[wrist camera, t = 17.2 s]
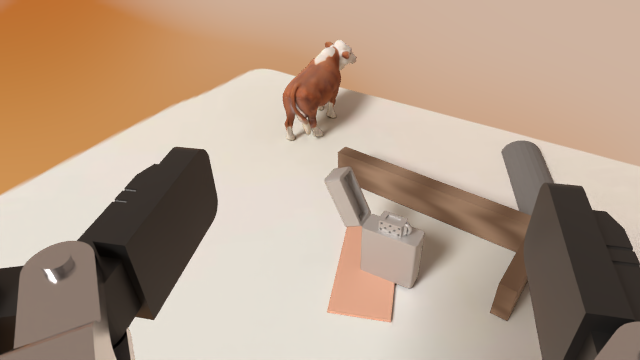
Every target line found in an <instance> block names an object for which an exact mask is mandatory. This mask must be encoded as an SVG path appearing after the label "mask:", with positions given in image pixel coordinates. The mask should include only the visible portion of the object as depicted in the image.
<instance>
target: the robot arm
mask: <svg viewBox="0 0 640 360" xmlns="http://www.w3.org/2000/svg"><path fill="white" fill-rule="evenodd" d="M217 205H218V199H217V193H216V188H215V183H214V179H213V174H212V169H211V164H210V159H209V156H208V153H207V152H206V151H205V150H204V149H194V148H183V147H174V148H173V149H172V150H171V151H170V152H169V153H168V154H167V155H166V157H165V158H164V159H163V160H162V161H161V162H160V164H154V165H152V166H150V167H149V168H147V169H145V170H144V171H142V172H141V173H139V174H137V175H136V176H135V177H134V178H133V179H132V181H131V182H130V183H129V184H128V185H127V186H126V187H125V190H124V191H122V192H121V193H120V194H119V195H118V196H117V197H116V198H115V202H112V203H111V204H110V205H109V206H108V207H107V208H106V209H105V210H104V212H103V213H102V214H101V215H100V216H99V217H98V218H97V219H96V220H95V221H94V223H93V224H92V225H91V226H90V227H89V228H88V229H87V230H86V231H85V233H84V234H83V235H82V236H81V237H80V238H79V239H78V240H77V241H66V242H61V243H57V244H54V245H51V246H49V247H47V248H45V249H43V250H41V251H40V252H38V253H37V254H35V255H34V256H33V257H32V258H30V259H29V260H28V261H27V263H26V264H25V265H24V266H18V267H9V268H1V269H0V360H135V356H134V350H133V343H132V337H131V333H130V330H129V328H128V327H129V325H130V324H131V322H132V321H133V319H134V318H135V317H139V318H145V319H151V320H154V319H155V317H156V316H157V314H158V312H159V311H160V309H161V307H162V306H163V304H164V302H165V301H166V299H167V297H168V296H169V294H170V292H171V291H172V289H173V287H174V286H175V284H176V282H177V281H178V279H179V277H180V276H181V274H182V272H183V271H184V269H185V267H186V266H187V264H188V262H189V261H190V259H191V257H192V256H193V254H194V252H195V251H196V249H197V247H198V246H199V244H200V242H201V241H202V239H203V237H204V236H205V234H206V232H207V231H208V229H209V227H210V226H211V224H212V222H213V220H214V218H215V216H216V212H217ZM632 250H633V247H632V245H631V243H630V241H629V238H628V236H627V234H626V232H625V230H624V228H623V227H622V226H621V225H620V224H619V223H617V222H616V221H615V220H614V219H613V218H612V217H611V216H610V215H609V214H608V213H607V212H605V211H595V210H592V208H591V206H590V203H589V201H588V198H587V196H586V193H585V191H584V189H583V187H582V186H575V185H565V184H554V183H543V184H542V186H541V188H540V190H539V193H538V196H537V200H536V203H535V206H534V209H533V212H532V215H531V219H530V222H529V225H528V228H527V231H526V235H525V240H524V263H525V268H526V273H527V279H528V284H529V290H530V295H531V300H532V306H533V311H534V316H535V322H536V327H537V333H538V338H539V343H540V349H541V354H542V360H640V263H639V260H638V258H637V256H636V254H635V252H633V251H632Z"/></svg>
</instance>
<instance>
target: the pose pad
mask: <svg viewBox="0 0 640 360" xmlns="http://www.w3.org/2000/svg"><path fill="white" fill-rule="evenodd" d="M361 240H362V226H355V227H347V230H346V234H345V238H344V242H343V246H342V251H341V255H340V259H339V263H338V268H337V272H336V276H335V280H334V284H333V289H332V293H331V297H330V301H329V306H328V310H327V312H329V313H335V314H341V315H348V316H354V317H360V318H367V319H373V320H380V321H386V322H391V313H392V303H393V293H394V284H395V283H393V282H391V281H388V280H386V279H383V278H381V277H378V276H375V275H373V274H370V273H368V272H365V271H363V270H361V268H360V264H361Z"/></svg>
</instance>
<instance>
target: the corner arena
mask: <svg viewBox="0 0 640 360" xmlns="http://www.w3.org/2000/svg"><path fill="white" fill-rule="evenodd" d="M343 167H351V168H352V170H353V172H354V175H355V177H356V179H357V182H358V184H359V186H360V187H361V188H363V189H365V190H368V191H370V192H373V193H375V194H377V195H380V196H382V197H385V198H387V199H389V200H392V201H394V202H397V203H399V204H401V205H404V206H406V207H409V208H411V209H413V210H416V211H418V212H421V213H423V214H425V215H428V216H430V217H433V218H435V219H437V220H440V221H442V222H445V223H447V224H450V225H452V226H454V227H457V228H459V229H462V230H464V231H466V232H469V233H471V234H474V235H476V236H478V237H481V238H483V239H486V240H488V241H490V242H493V243H495V244H498V245H500V246H502V247H505V248H507V249H510V250H512V251H514V252H516V254H515V256H514V258H513V260H512V261H511V263H510V265H509V267H508V269H507V270H506V272H505V274H504V276H503V278H502V279H501V281H500V283H499V286H498V289H497V292H496V295H495V298H494V302H493V305H492V308H491V311H490V313H492V314H494V315H496V316H498V317H500V318H502V319H504V320H506V321H508V319H509V317H510V315H511V313H512V311H513V309H514V307H515V305H516V303H517V301H518V299H519V297H520V295H521V293H522V291H523V289H524V287H525V285H526V283H527V281H528V279H527V273H526V268H525V263H524V240H525V235H526V231H527V228H528V225H529V222H530V219H531V215H528V214H525V213H523V212H520V211H517V210H514V209H512V208H509V207H506V206H504V205H501V204H498V203H496V202H493V201H490V200H488V199H485V198H482V197H479V196H477V195H474V194H471V193H469V192H466V191H463V190H461V189H458V188H455V187H453V186H450V185H447V184H444V183H442V182H439V181H436V180H434V179H431V178H428V177H426V176H423V175H420V174H418V173H415V172H412V171H409V170H407V169H404V168H401V167H399V166H396V165H393V164H391V163H388V162H385V161H383V160H380V159H377V158H374V157H372V156H369V155H366V154H364V153H361V152H358V151H356V150H353V149H350V148H348V147H344V148H343V149H342V150H341V151H339V152H338V168H343Z"/></svg>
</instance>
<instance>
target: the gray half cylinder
mask: <svg viewBox="0 0 640 360" xmlns="http://www.w3.org/2000/svg"><path fill="white" fill-rule="evenodd" d="M502 155H503V158H504V162H505V165H506V168H507V172H508V175H509V178H510V182H511V185H512V188H513V191H514V195H515V198H516V201H517V205H518V208H519V211H520V212H523V213H525V214H528V215H532V212H533V209H534V206H535V203H536V200H537V196H538V193H539V190H540V188H541V186H542V184H543V183H554V182H553V180H552V177H551V175H550V173H549V170H548V168H547V165H546V163H545V161H544V158H543V156H542V154H541V151H540V150H539V148H538V147H537V146H536V145H535V144H534V143H531V142H529V141H516V142H512V143H510V144H508V145H506V146H505V148H504V149H503V150H502Z"/></svg>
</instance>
